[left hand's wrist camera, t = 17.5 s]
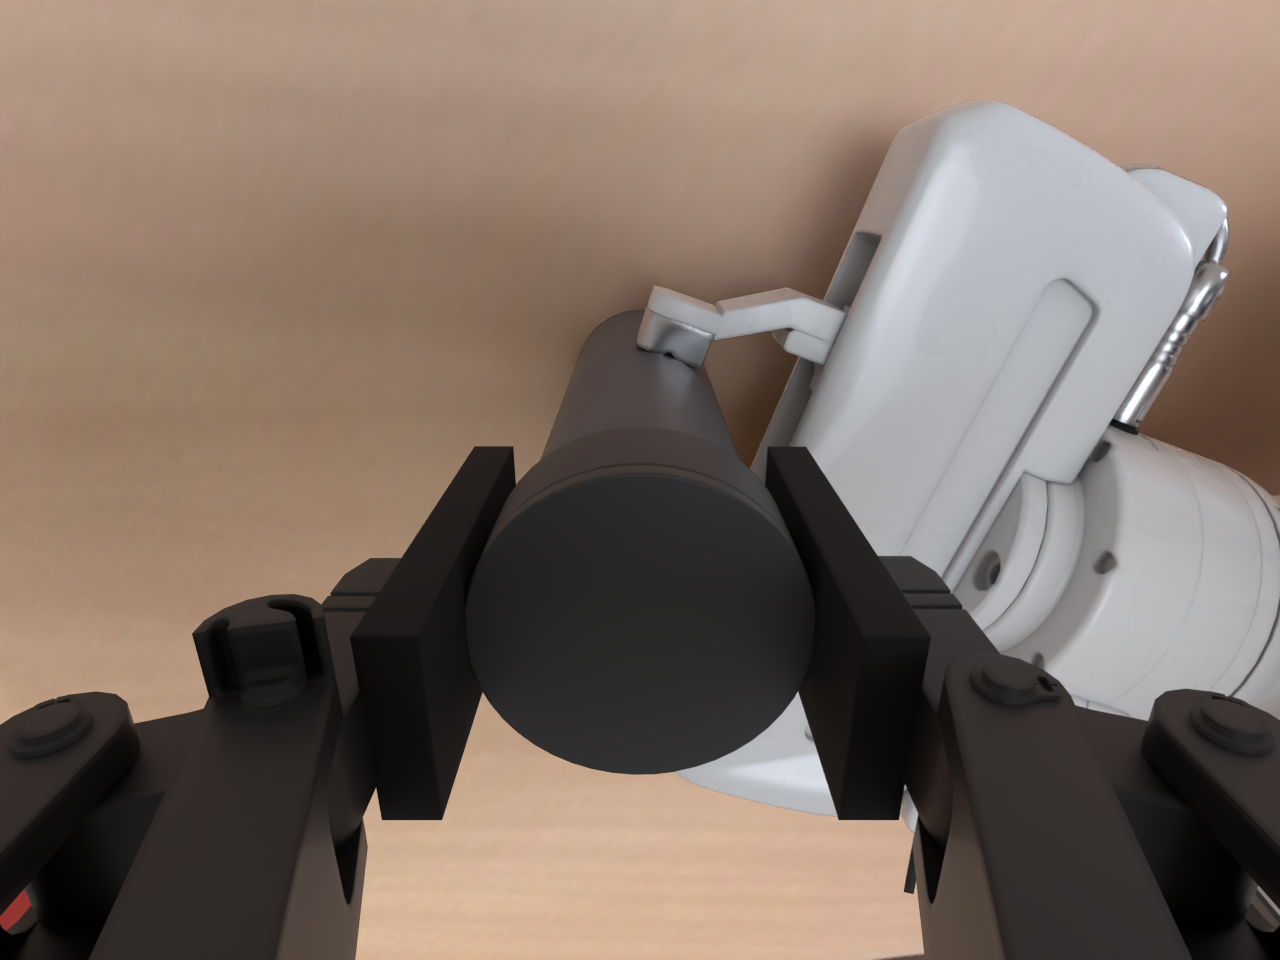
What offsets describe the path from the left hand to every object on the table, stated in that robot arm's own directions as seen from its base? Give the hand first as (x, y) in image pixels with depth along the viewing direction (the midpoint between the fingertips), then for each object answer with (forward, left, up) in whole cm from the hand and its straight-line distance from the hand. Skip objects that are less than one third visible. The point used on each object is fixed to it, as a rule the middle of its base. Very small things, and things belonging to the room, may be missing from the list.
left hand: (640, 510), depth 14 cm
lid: (0, 0, +4) cm, 4 cm away
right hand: (-1, 0, -6) cm, 6 cm away
